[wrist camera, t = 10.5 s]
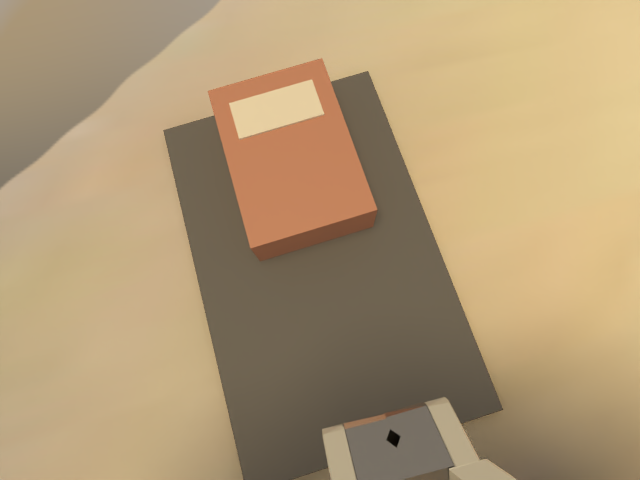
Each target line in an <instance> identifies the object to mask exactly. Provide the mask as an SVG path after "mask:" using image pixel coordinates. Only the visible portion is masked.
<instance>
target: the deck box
mask: <svg viewBox="0 0 640 480" xmlns="http://www.w3.org/2000/svg"><path fill="white" fill-rule="evenodd" d="M208 93H209V97H210V101H211V105H212V108H213V112H214V116H215V119H216V123H217V127H218V130H219V134H220V138H221V141H222V145H223V149H224V153H225V156H226V160H227V164H228V167H229V171H230V175H231V178H232V182H233V186H234V189H235V193H236V197H237V201H238V204H239V208H240V212H241V215H242V219H243V223H244V226H245V230H246V234H247V237H248V241H249V245H250V248H251V250H252V251H253V252H254V254H255V255H256V256H257V258H258V259H259V260H260V261H263V260H266V259H270V258H273V257H276V256H279V255H283V254H286V253H289V252H293V251H296V250H299V249H302V248H306V247H309V246H312V245H315V244H319V243H322V242H325V241H328V240H332V239H335V238H338V237H341V236H345V235H348V234H351V233H355V232H358V231H361V230H364V229H368V228H371V227H373V225H374V221H375V218H376V214H377V207H376V204H375V201H374V199H373V196H372V193H371V191H370V188H369V185H368V182H367V180H366V177H365V174H364V171H363V169H362V166H361V163H360V161H359V158H358V155H357V152H356V150H355V147H354V144H353V141H352V139H351V136H350V133H349V131H348V128H347V125H346V122H345V120H344V117H343V114H342V111H341V109H340V106H339V103H338V101H337V98H336V95H335V92H334V90H333V87H332V84H331V81H330V79H329V76H328V73H327V71H326V68H325V65H324V62H323V60H322V58H321V59H318V60H314V61H311V62H307V63H304V64H300V65H297V66H293V67H290V68H286V69H283V70H279V71H276V72H272V73H269V74H265V75H262V76H258V77H255V78H251V79H248V80H244V81H241V82H238V83H234V84H231V85H227V86H224V87H220V88H217V89H213V90H210V91H208Z"/></svg>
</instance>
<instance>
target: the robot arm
mask: <svg viewBox="0 0 640 480" xmlns="http://www.w3.org/2000/svg"><path fill="white" fill-rule="evenodd" d="M344 428H345V430H344ZM345 433H346V434H345ZM322 435H323V441H324V447H325V452H326V457H327V463H328V468H329V473H330V479H331V480H517V479H516V478H514V477H513V476H511V475H510V474H508V473H507V472H506V471H504V470H503V469H501V468H500V467H498V466H497V465H495V464H494V463H492V462H491V461H489V460H488V459H487V458H486V459H482V460H480V459H479V457H478V455H477V453H476V451H475V449H474V448H473V446H472V444H471V442H470V440H469V438H468V436H467V434H466V432H465V430H464V429H463V427H462V425H461V423H460V421H459V419H458V417H457V415H456V413H455V412H454V410H453V408H452V406H451V404H450V402H449V400H448V399H447V398H445V397H442V398H438V399H435V400H431V401H428V402H421V403H418V404H414V405H410V406H407V407H403V408H400V409H396V410H393V411H389V412H385V413H384V414H381V415H377V416H373V417H369V418H364V419H360V420H356V421H352V422H348V423H344V426H343V424H339V425H335V426H331V427H328V428H324V429H322ZM346 437H347V438H346ZM347 441H348V442H347ZM348 445H349V446H348ZM349 449H350V450H349ZM350 453H351V454H350Z"/></svg>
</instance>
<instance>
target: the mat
mask: <svg viewBox="0 0 640 480" xmlns="http://www.w3.org/2000/svg"><path fill="white" fill-rule="evenodd" d="M331 84H332V87H333V90H334V92H335V95H336V98H337V101H338V103H339V106H340V109H341V111H342V114H343V117H344V120H345V122H346V125H347V128H348V131H349V133H350V136H351V139H352V141H353V144H354V147H355V150H356V152H357V155H358V158H359V161H360V163H361V166H362V169H363V171H364V174H365V177H366V180H367V182H368V185H369V188H370V191H371V193H372V196H373V199H374V201H375V204H376V207H377V214H376V218H375V221H374V225H373V227H371V228H368V229H364V230H361V231H358V232H355V233H351V234H348V235H345V236H341V237H338V238H335V239H332V240H328V241H325V242H322V243H319V244H315V245H312V246H309V247H306V248H302V249H299V250H296V251H293V252H289V253H286V254H283V255H279V256H276V257H273V258H270V259H266V260H263V261H260V260H259V259H258V258H257V256H256V255H255V254H254V252H253V251H252V250H251V248H250V245H249V241H248V237H247V234H246V230H245V226H244V223H243V219H242V215H241V212H240V208H239V204H238V201H237V197H236V193H235V189H234V186H233V182H232V178H231V175H230V171H229V167H228V164H227V160H226V156H225V153H224V149H223V145H222V141H221V138H220V134H219V130H218V127H217V123H216V119H215V116H211V117H208V118H204V119H201V120H197V121H194V122H190V123H187V124H184V125H180V126H177V127H173V128H170V129H166V130H163V131H164V135H165V139H166V144H167V148H168V152H169V157H170V161H171V165H172V170H173V174H174V178H175V183H176V187H177V191H178V196H179V200H180V204H181V209H182V213H183V217H184V222H185V226H186V230H187V235H188V239H189V244H190V248H191V252H192V257H193V261H194V265H195V270H196V274H197V278H198V283H199V287H200V291H201V296H202V300H203V304H204V309H205V313H206V317H207V322H208V326H209V330H210V335H211V339H212V343H213V348H214V352H215V356H216V361H217V365H218V369H219V374H220V378H221V383H222V387H223V391H224V396H225V400H226V404H227V409H228V413H229V417H230V422H231V426H232V430H233V435H234V439H235V443H236V448H237V452H238V456H239V461H240V465H241V469H242V474H243V478H244V480H292V479H295V478H298V477H301V476H304V475H307V474H310V473H313V472H316V471H319V470H322V469H325V468H328V463H327V457H326V452H325V447H324V441H323V435H322V429H324V428H328V427H331V426H335V425H339V424H343V426H344V423H348V422H352V421H356V420H360V419H364V418H369V417H373V416H377V415H381V414H384V413H385V412H389V411H393V410H396V409H400V408H403V407H407V406H410V405H414V404H418V403H421V402H428V401H431V400H435V399H438V398H442V397H445V398H447V399H448V400H449V402H450V404H451V406H452V408H453V410H454V412H455V413H456V415H457V417H458V419H459V421H460V423H464V422H467V421H470V420H473V419H476V418H479V417H482V416H485V415H488V414H491V413H494V412H497V411H500V410H503V409H502V406H501V403H500V401H499V398H498V396H497V393H496V391H495V388H494V386H493V383H492V381H491V378H490V376H489V373H488V371H487V368H486V366H485V363H484V361H483V358H482V356H481V353H480V351H479V348H478V346H477V343H476V341H475V338H474V336H473V333H472V331H471V328H470V326H469V323H468V321H467V318H466V316H465V313H464V311H463V308H462V306H461V303H460V301H459V298H458V296H457V293H456V291H455V288H454V286H453V283H452V281H451V278H450V276H449V273H448V271H447V268H446V266H445V263H444V261H443V258H442V255H441V253H440V250H439V248H438V245H437V243H436V240H435V238H434V235H433V233H432V230H431V228H430V225H429V223H428V220H427V218H426V215H425V213H424V210H423V208H422V205H421V203H420V200H419V198H418V195H417V193H416V190H415V188H414V185H413V183H412V180H411V178H410V175H409V173H408V170H407V168H406V165H405V163H404V160H403V158H402V155H401V153H400V150H399V148H398V145H397V143H396V140H395V138H394V135H393V133H392V130H391V128H390V125H389V123H388V120H387V118H386V115H385V112H384V110H383V107H382V105H381V102H380V100H379V97H378V95H377V92H376V90H375V87H374V85H373V82H372V80H371V77H370V75H369V72H368V71H367V72H363V73H360V74H356V75H353V76H349V77H346V78H342V79H339V80H336V81H332V82H331ZM344 430H345V428H344ZM345 434H346V433H345ZM346 438H347V437H346ZM347 442H348V441H347ZM348 446H349V445H348ZM349 450H350V449H349ZM350 454H351V453H350Z"/></svg>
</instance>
